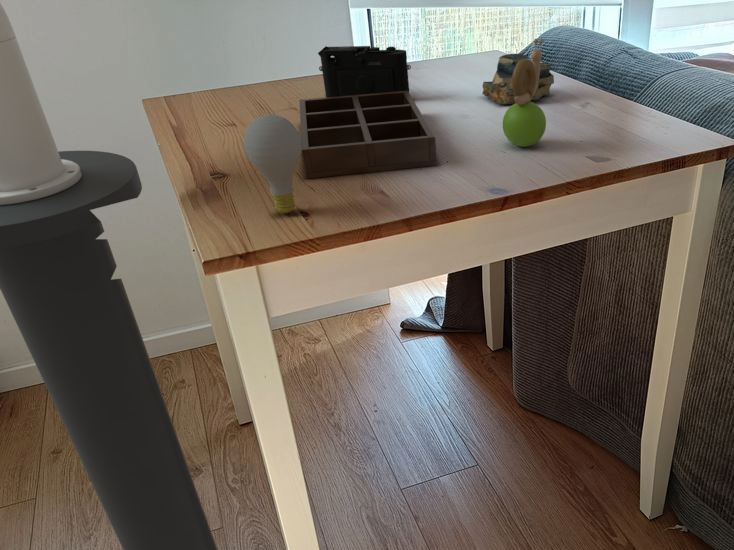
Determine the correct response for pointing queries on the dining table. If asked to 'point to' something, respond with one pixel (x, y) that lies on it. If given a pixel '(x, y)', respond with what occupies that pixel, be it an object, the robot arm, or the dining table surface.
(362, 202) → the dining table surface
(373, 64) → the camera
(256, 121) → the light bulb
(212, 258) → the dining table surface
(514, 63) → the rock
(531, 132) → the snail figurine
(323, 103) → the compartment tray
